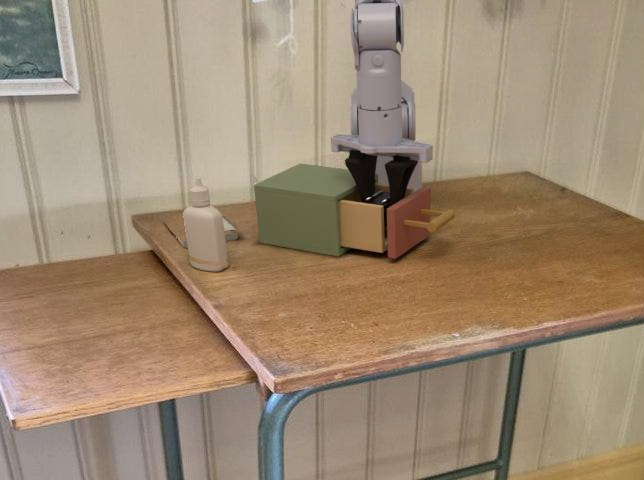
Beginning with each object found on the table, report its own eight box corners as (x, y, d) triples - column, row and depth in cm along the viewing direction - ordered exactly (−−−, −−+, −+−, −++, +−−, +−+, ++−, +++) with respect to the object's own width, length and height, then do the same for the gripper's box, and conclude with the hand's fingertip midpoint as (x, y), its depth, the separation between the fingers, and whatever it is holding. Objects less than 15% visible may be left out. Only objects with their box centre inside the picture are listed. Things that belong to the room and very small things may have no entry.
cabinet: (379, 230, 135) (378, 173, 130) (338, 256, 126) (335, 196, 122) (304, 218, 140) (299, 163, 136) (259, 243, 132) (253, 184, 127)
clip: (380, 212, 129) (379, 188, 128) (403, 215, 128) (403, 191, 126) (362, 223, 126) (360, 198, 124) (386, 227, 124) (385, 202, 122)
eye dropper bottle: (217, 257, 128) (206, 170, 121) (231, 269, 123) (220, 180, 117) (187, 263, 126) (174, 175, 119) (201, 276, 122) (188, 186, 115)
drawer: (461, 239, 128) (462, 191, 125) (428, 264, 121) (428, 214, 117) (356, 222, 136) (354, 177, 132) (318, 245, 128) (314, 198, 124)
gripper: (316, 107, 118) (323, 211, 126) (415, 117, 113) (416, 225, 120) (344, 96, 124) (348, 196, 131) (440, 105, 118) (439, 209, 125)
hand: (382, 209), depth 126 cm, fingers closed on clip, 4 cm apart
